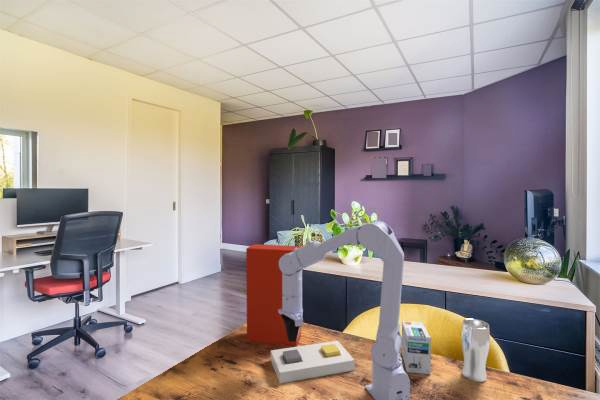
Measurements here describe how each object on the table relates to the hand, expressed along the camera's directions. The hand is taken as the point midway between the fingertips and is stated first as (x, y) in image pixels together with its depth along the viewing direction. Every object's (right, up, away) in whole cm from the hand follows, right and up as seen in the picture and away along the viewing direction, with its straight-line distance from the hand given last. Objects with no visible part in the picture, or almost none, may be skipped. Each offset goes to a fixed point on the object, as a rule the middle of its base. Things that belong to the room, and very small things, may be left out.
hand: (292, 340), depth 92 cm
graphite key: (0, -7, 0) cm, 7 cm away
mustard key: (+11, -7, +4) cm, 14 cm away
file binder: (-7, -8, +18) cm, 21 cm away
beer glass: (+51, -9, -3) cm, 52 cm away
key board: (+6, -8, +2) cm, 10 cm away
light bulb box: (+37, -9, +3) cm, 38 cm away
